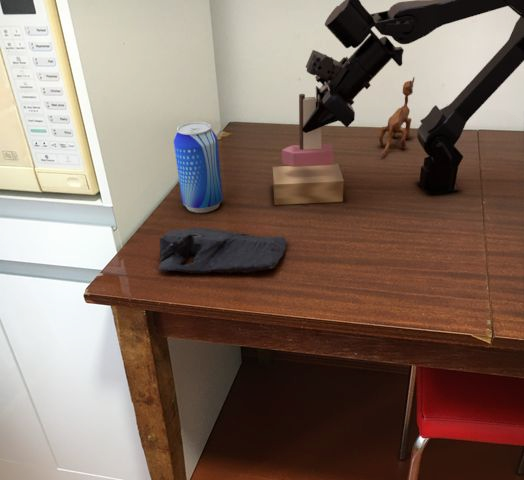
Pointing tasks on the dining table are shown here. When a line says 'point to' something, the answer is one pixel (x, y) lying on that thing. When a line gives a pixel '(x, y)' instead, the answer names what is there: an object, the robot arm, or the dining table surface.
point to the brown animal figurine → (398, 120)
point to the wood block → (307, 184)
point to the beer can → (198, 167)
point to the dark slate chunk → (219, 251)
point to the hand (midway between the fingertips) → (303, 129)
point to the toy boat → (308, 141)
